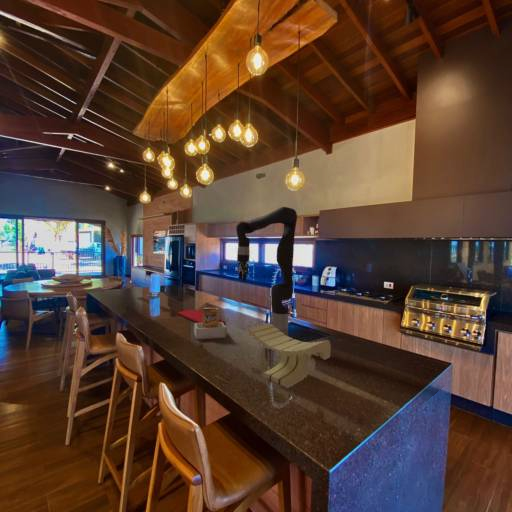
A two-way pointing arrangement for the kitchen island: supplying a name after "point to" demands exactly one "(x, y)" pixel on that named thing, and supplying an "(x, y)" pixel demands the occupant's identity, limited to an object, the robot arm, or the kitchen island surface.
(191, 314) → the red flat case
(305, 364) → the slatted curved stool
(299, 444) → the kitchen island surface
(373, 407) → the kitchen island surface
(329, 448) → the kitchen island surface
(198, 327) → the box
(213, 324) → the candy box
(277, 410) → the kitchen island surface
